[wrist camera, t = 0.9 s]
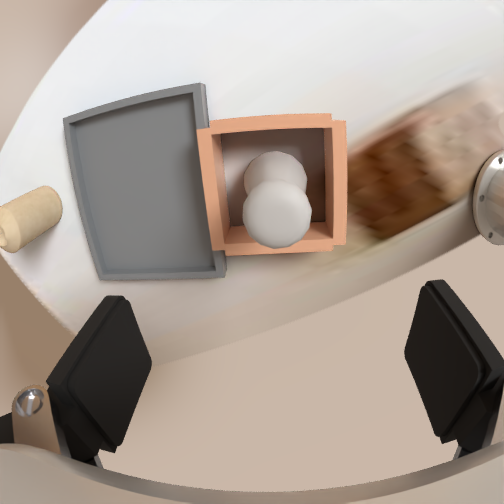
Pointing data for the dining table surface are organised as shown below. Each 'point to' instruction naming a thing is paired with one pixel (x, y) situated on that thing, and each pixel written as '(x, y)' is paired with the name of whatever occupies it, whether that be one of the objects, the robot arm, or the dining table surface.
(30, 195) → the candle
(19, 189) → the dining table surface
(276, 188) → the salt shaker
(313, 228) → the open container
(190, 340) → the dining table surface
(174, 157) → the tray
